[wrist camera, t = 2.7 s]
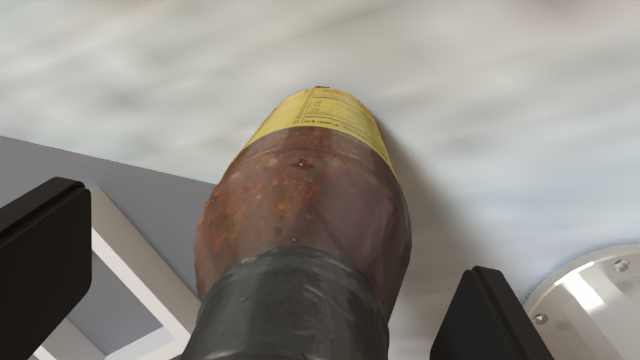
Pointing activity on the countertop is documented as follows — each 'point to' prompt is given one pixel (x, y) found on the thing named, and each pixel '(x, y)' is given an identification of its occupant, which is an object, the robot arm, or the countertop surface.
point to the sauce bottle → (302, 239)
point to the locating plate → (141, 205)
